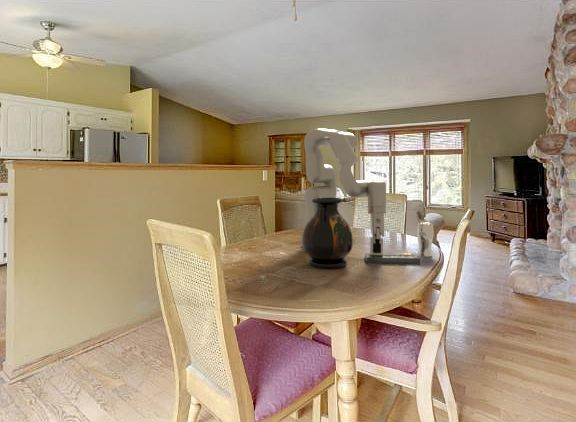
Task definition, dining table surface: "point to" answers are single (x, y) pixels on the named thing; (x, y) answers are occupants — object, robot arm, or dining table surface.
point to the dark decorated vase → (327, 235)
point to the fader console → (393, 258)
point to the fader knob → (372, 246)
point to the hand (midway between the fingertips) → (376, 251)
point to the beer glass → (425, 238)
